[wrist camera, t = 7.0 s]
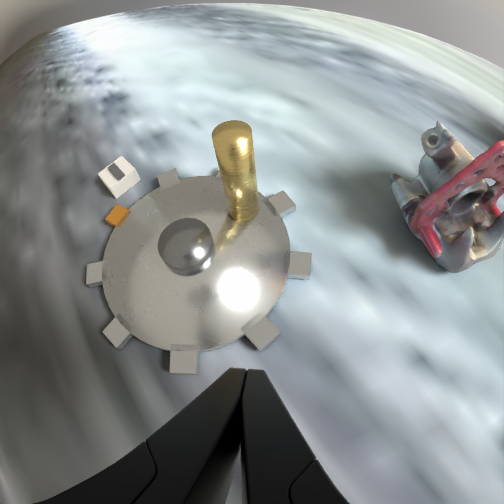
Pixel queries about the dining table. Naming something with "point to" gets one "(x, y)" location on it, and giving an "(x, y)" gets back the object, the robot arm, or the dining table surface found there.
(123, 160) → the block
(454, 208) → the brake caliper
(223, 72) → the dining table surface
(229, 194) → the sprocket
